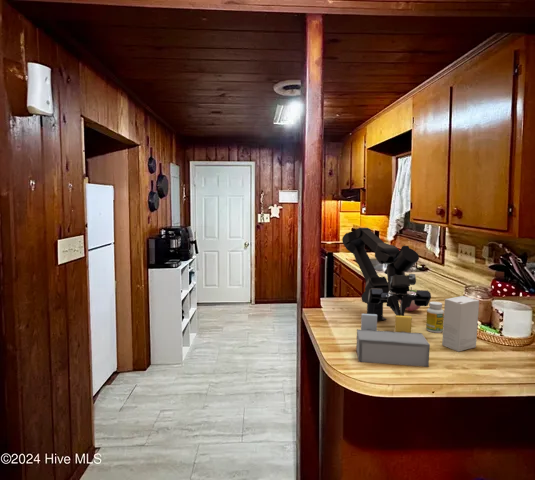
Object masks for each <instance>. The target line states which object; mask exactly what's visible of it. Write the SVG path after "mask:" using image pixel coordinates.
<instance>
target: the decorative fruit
mask: <svg viewBox="0 0 535 480" xmlns="http://www.w3.org/2000/svg"><path fill="white" fill-rule="evenodd" d="M417 290H418V289H412V286H411V287H410V288H409V291H407V293H408V294H416V291H417ZM399 305H401V300H399ZM421 307H422V306H417V305H415V304H414V300H412V302H411V305H410V307H408V308H406V310H407V311H408V312H414V311H416V310H418V309H419V308H421ZM406 310H405V311H406Z"/></svg>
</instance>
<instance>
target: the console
mask: <svg viewBox="0 0 535 480" xmlns="http://www.w3.org/2000/svg"><path fill="white" fill-rule="evenodd" d="M355 344H356V346H355V347H356V348H355V349H356V355H357V360H358V362H361V363H372V364H373V363H374V364H384V365H385V364H386V365H400V366H413V367H427V368H428V367H429V365H430V349H431V348H430V346H431V345H430V343H429V342H428V340H427V339H426V337H425V336H424V335H423V333H421V332H411V333H407V332H395V331H388V330H377V331H374V330H361V329H356V343H355Z"/></svg>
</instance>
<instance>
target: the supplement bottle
mask: <svg viewBox="0 0 535 480" xmlns="http://www.w3.org/2000/svg"><path fill="white" fill-rule="evenodd" d="M428 306H429V307H428V308H426V321H425V325H426V326H425V328H426V329H425V330H426V331H428V332H430V333H434V334H435V333H437V334H439V333H443V323H444V309H443V303H442V302H440V301H429V304H428Z"/></svg>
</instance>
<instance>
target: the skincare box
mask: <svg viewBox="0 0 535 480" xmlns="http://www.w3.org/2000/svg"><path fill="white" fill-rule="evenodd" d="M479 307H480V300H479V299H475V298H471V297H468V296H465V295H461V296H456V297H450V298H445V299H444V309H443V311H444V321H443V331H442V342H441V345H442V346H444V347H446V348H449V350H452V351H454V352H455V351H456V352H461V351H465V350H469V349H470V350H471V349H475V348H476V347H477V340H478V339H477V337H478V334H477V333H478V325H479V324H478V322H479V321H478V320H479V309H480V308H479Z"/></svg>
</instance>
